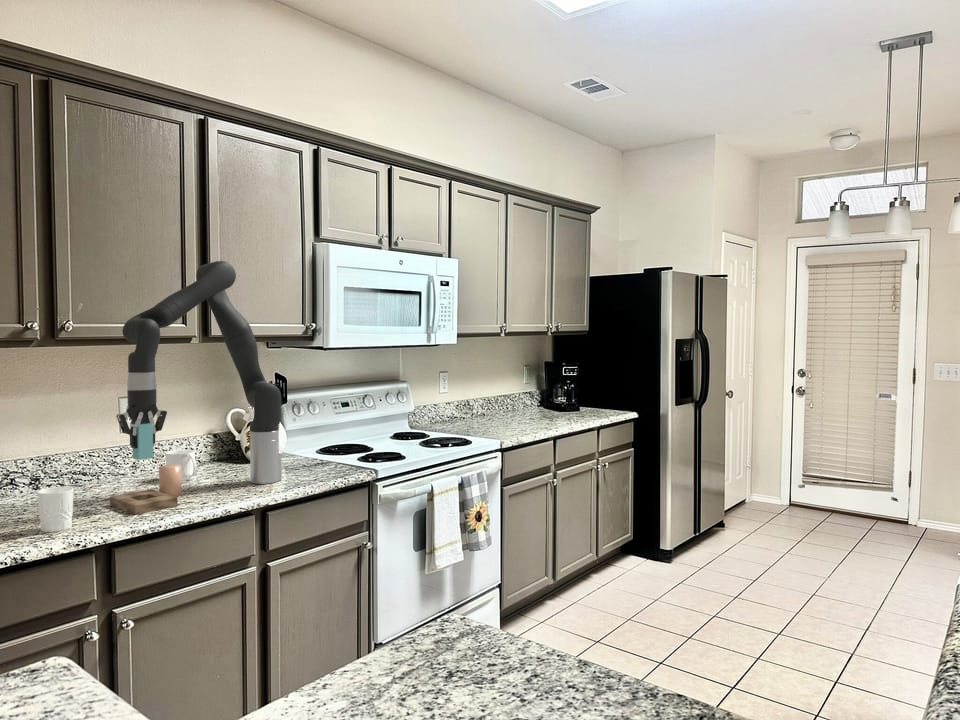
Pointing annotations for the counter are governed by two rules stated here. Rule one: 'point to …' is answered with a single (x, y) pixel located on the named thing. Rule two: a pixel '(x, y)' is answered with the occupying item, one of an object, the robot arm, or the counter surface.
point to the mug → (183, 462)
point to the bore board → (143, 501)
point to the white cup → (55, 508)
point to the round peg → (170, 480)
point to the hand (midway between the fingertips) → (142, 446)
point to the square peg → (144, 442)
